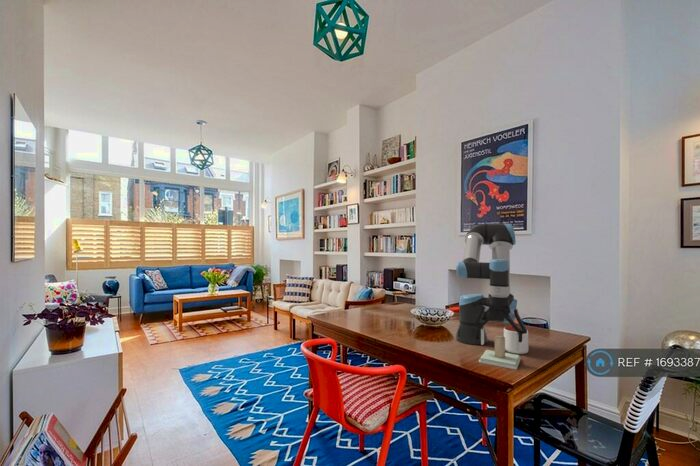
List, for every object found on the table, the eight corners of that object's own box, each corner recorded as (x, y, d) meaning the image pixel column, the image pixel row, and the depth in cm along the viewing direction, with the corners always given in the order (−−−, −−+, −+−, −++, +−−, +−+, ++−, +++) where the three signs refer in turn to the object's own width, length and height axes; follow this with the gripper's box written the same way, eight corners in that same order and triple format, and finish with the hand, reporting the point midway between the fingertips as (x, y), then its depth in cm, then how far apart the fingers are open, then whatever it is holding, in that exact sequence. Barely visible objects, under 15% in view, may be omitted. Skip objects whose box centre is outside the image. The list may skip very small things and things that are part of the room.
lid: (480, 360, 134) (480, 338, 134) (486, 352, 145) (486, 331, 145) (515, 367, 127) (515, 343, 127) (519, 358, 138) (518, 336, 138)
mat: (478, 362, 134) (478, 360, 134) (485, 353, 146) (485, 351, 146) (516, 369, 126) (516, 368, 126) (520, 359, 138) (520, 358, 138)
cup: (499, 348, 153) (499, 326, 154) (519, 347, 154) (519, 326, 155) (511, 355, 143) (511, 332, 144) (533, 354, 144) (533, 332, 145)
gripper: (466, 294, 141) (466, 343, 140) (532, 300, 127) (533, 355, 126) (470, 292, 147) (471, 339, 146) (533, 297, 133) (534, 350, 132)
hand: (499, 347), depth 136 cm, fingers open, 13 cm apart
